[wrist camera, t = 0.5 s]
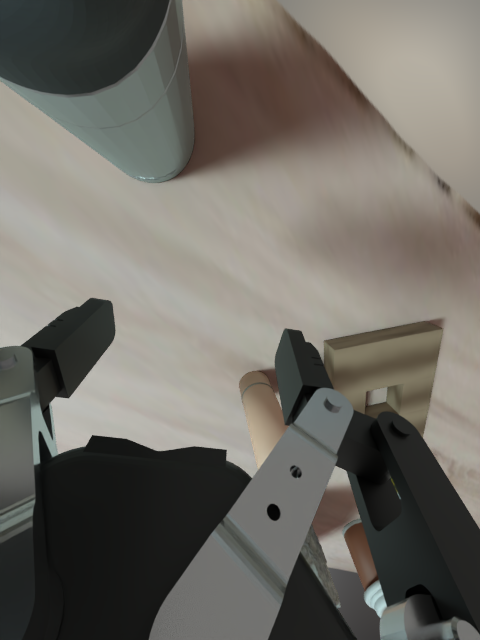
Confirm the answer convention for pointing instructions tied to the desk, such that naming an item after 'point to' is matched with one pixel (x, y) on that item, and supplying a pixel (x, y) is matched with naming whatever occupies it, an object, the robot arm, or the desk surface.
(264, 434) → the dowel
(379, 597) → the coffee cup
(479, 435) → the desk surface
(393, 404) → the seat board
